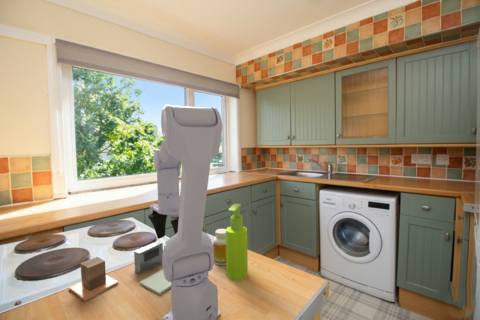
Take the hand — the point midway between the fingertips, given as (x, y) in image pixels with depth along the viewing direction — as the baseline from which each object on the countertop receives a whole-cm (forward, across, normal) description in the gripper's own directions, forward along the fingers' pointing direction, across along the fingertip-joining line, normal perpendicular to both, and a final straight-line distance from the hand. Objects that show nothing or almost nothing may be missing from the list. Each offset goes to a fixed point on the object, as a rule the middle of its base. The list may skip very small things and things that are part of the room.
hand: (170, 240), depth 67 cm
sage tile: (+9, -2, +4) cm, 10 cm away
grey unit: (+9, +8, +1) cm, 12 cm away
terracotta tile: (+9, +12, +15) cm, 21 cm away
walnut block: (+9, +12, +15) cm, 21 cm away
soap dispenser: (+10, -17, -9) cm, 21 cm away
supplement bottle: (+10, -9, -13) cm, 18 cm away
